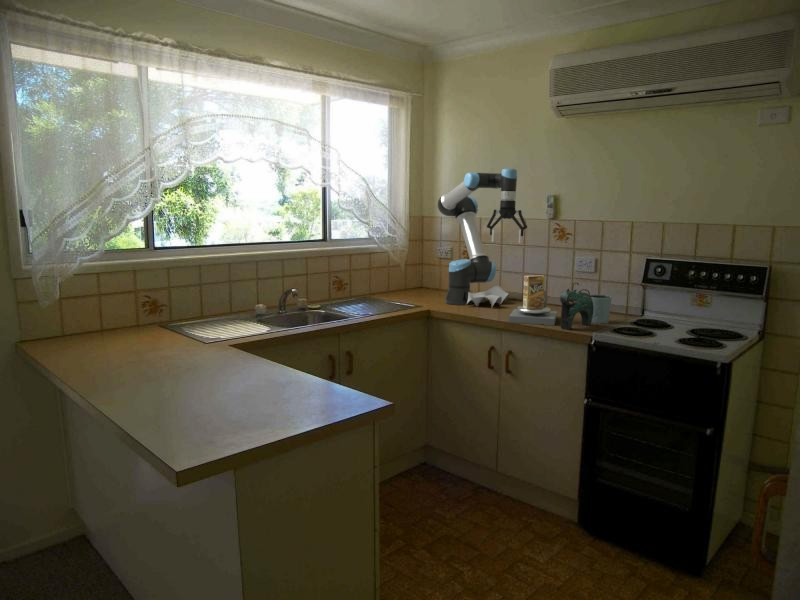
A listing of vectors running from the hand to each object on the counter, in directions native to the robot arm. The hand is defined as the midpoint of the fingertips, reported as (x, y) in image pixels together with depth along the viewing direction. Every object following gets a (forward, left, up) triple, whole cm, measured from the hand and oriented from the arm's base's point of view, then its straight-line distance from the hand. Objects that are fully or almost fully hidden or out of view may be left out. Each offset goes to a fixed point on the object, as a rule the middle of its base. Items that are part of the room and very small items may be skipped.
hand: (506, 242), depth 296 cm
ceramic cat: (+36, -37, -34) cm, 62 cm away
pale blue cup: (+46, -21, -34) cm, 61 cm away
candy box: (+17, -27, -29) cm, 43 cm away
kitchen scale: (+17, -27, -34) cm, 47 cm away
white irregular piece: (-10, +10, -35) cm, 37 cm away
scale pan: (+17, -27, -31) cm, 44 cm away
